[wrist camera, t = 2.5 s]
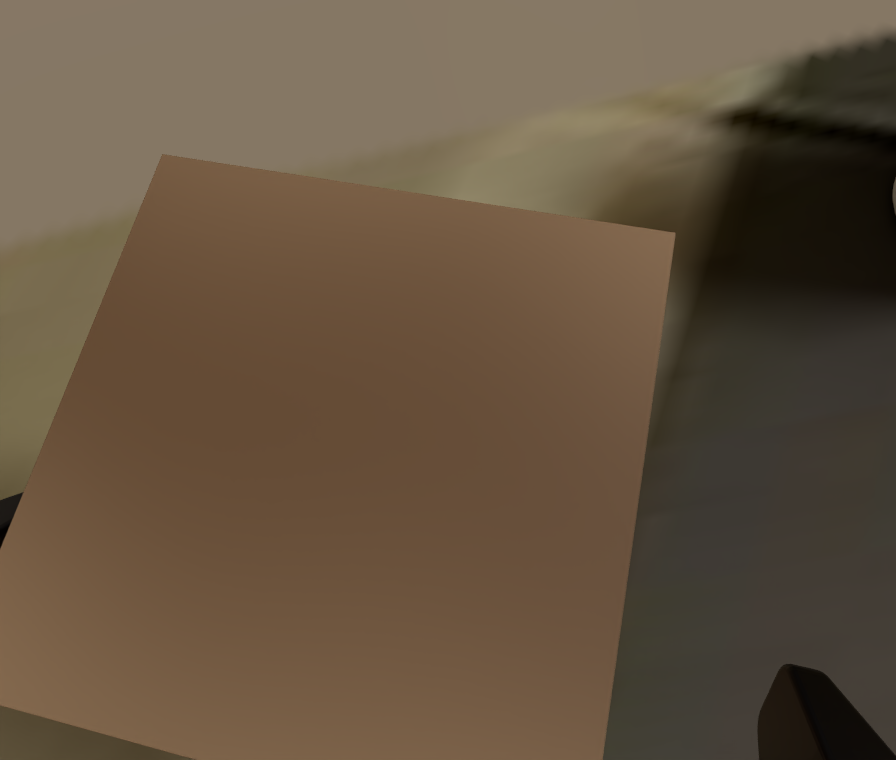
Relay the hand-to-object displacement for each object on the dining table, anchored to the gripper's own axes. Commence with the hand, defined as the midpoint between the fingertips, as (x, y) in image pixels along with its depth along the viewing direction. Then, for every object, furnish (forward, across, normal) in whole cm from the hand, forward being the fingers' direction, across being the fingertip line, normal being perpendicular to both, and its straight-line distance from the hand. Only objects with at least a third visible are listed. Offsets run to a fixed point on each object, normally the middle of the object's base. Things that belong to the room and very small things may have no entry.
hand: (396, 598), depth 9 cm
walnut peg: (+7, 0, +6) cm, 9 cm away
